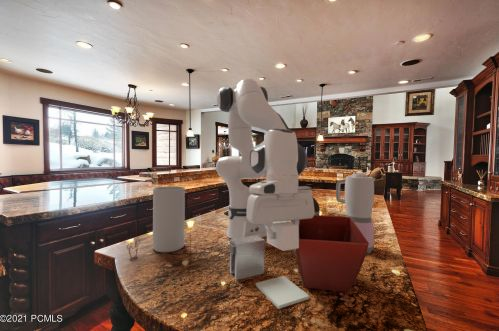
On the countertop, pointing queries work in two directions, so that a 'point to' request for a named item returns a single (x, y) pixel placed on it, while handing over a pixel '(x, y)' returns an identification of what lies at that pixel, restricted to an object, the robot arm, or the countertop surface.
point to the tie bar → (232, 248)
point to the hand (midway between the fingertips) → (282, 237)
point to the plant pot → (330, 252)
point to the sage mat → (282, 291)
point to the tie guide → (247, 257)
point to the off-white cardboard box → (285, 235)
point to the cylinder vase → (168, 218)
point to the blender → (359, 203)
